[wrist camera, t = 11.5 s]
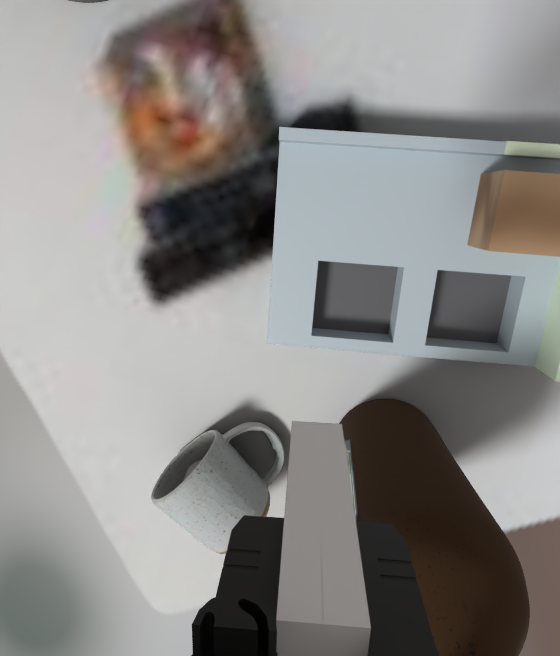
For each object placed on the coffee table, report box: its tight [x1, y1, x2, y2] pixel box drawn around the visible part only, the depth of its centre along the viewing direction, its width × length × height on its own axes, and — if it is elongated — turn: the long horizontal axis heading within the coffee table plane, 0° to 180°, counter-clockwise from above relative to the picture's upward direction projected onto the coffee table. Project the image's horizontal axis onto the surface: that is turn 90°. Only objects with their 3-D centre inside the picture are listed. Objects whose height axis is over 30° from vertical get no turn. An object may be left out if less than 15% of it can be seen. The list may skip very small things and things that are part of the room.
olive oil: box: [339, 399, 530, 656], centre depth 28 cm, size 11×11×25 cm
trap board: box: [267, 127, 560, 382], centre depth 33 cm, size 16×22×6 cm
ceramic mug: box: [151, 422, 284, 554], centre depth 38 cm, size 11×8×8 cm
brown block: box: [467, 170, 560, 257], centre depth 30 cm, size 5×5×4 cm
